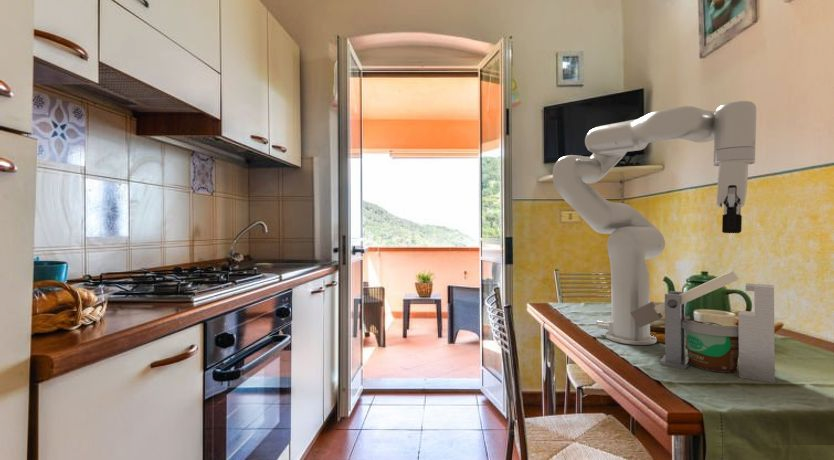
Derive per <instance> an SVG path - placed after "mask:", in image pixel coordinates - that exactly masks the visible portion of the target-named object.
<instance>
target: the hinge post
mask: <svg viewBox="0 0 834 460" xmlns="http://www.w3.org/2000/svg"><path fill="white" fill-rule="evenodd" d="M684 292H685V291H676V290H675V291H674V290H669V292H668V293H665V294H664V302H665V311H664V334H665V335H664V353H665V354H664V355H663V356H662V357H661V359H660V360H659V365H660V366H667V367H672V368H675V369H676V368H677V369H682V370H686V369H687V368H688V367H689V365H690V363H689V359H688V355H686V353H687V352H686V334H685V329H684V328H682V327H681V325H682V321H683V320H684V318H685V316H686V303H684V304H682V305H681V295H679V294H681V293H684Z"/></svg>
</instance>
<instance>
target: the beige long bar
mask: <svg viewBox="0 0 834 460" xmlns="http://www.w3.org/2000/svg"><path fill="white" fill-rule="evenodd" d="M738 280H739V277H738V275H737V274H736V273H735V272H734V270H730V271H729V272H726V273H724V274H722V275H720V276H717V277H715V278H712V279H711V280H708V281H706V282H704V283H702V284H699V285H697V286H694V287H692V288H690V289H688V290H686V291H683V292H684V293H681V294H679V295H681V305H682V304H684V303H685V304H686V303H688V302H691V301H694V300H695V299H696V300H697V299H698V298H700V297H702V296H705V295H707V294H709V293H711V292H714V291H716V290H719V289H720V288H723V287H725V286H727V285H729V284H730V285H731V284H732V283H734V282H737V281H738ZM663 312H665V301H664V302H662V303H660V304H657V305H656V304H655V303H654V301H650V303H648V304H646V305H644V306H642V307H640V308H638V309H635V310H633V311H632V312H630V313H631V315H632V316H633V318H634V319H635V321H636V323H637V324H638V326H639V327H643V326H645V325H647V324H650V325H651V323H654V322H657V321H659V320H662V318H663V315H662V314H661V313H663Z"/></svg>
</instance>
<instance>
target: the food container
mask: <svg viewBox="0 0 834 460" xmlns="http://www.w3.org/2000/svg"><path fill="white" fill-rule="evenodd" d="M681 327H682V328H684V329H685V343H686V348H687V350H686V351H687V356H688V359H689V365H691V366H694V367H696V368H699V369H701V370H705V371H712V372H719V373H737V372H738V367H739V326H738V325H735V326H734V325H726V326H725V325H721V324H718V323H715V322H708V321H697V320H694V319H693V320H692V319H691V316H690V315H685V318H684V320H683V321H682V325H681Z"/></svg>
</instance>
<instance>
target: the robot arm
mask: <svg viewBox="0 0 834 460" xmlns="http://www.w3.org/2000/svg"><path fill="white" fill-rule="evenodd" d="M756 132H757V106H756V104H755V103H754V102H752V101H748V100H740V101H739V100H738V101H730V102H726V103H724V104H722V105H719V106H718V107H717V108H716V109H715V110H707V109H703V108H701V107H696V106H692V105H691V106H688V105H687V106H686V105H685V106H683V105H682V106H676V107H672V108H666V109H662V110H661V109H660V110H657V111H652V112H650V113H647V114H644V115H643V116H641V117H639V118H637V119H636V118H635V119H630V120H625V121H620V122H615V123H610V124H604V125H599V126H596V127H594V128H592V129H590V130H589V131H588V132H587V133H586V135H585V138H584V145H585V147H586V149H587V151H589V152H590V153H592V154H591V155H590V156H583V155H576V154H575V155H574V154H570V155H565V156H562V157H560V158H558V160H556V162H555V164H554V165H553V168H552V182H553V187H554V188H555V190H556V192H557V193H558V195H559V196H560V197H561V198H562V199H563V200H564V201H565V202H566V203H567V204H568V205H569V206H570V207H571V208H572V209H573V210H574V211H575V212H576V213H577V215H579V216H580V217H581V218H582V220H584V222H585V223H586V224H587V225H588V226H589V227H590V228H591V229H592V230H593V231H594V232H596V233H598V234H602V235H609V236H608V238H607V243H606V244H607V247H606V248H607V254H608V258H609V265H610V286H611V287H610V288H611V289H610V292H611V294H610V296H611V297H610V299H611V301H610V302H611V303H610V304H611V308H610V309H611V320H609V321H604V320H598V319H597V320H596V323H595V325H596V327H597V328H598V329H604V330H605V329H606V330H607V331H606V332H605V338H606V339H608V340H609V341H613V342H615V343H619V344H626V345H635V346H647V345H649V346H650V345H654V344H656V343H657V342H658V341H657V337H656V336H655V335H653V336H651V335H652V334H651V323H650V324H647V325H645V326H643V327H639V326H638V324H637V323H636V321H635V319H634V318H633V316H632V315H631V313H630V312H632V311H633V310H635V309H638V308H640V307H642V306H644V305H646V304H648V303H651V301H650V299H651V298H650V296H651V295H650V293H651V292H650V291H651V290H650V288H651V287H650V273H649V267H648V264H647V261H646V260H651V259H655V258H658V257H659V256H661V254H662V253H663V252H664V251H665V248H666V247H665V246H666V240H665V237H664V235H663V234H662V232H661V231H660V229H658V228H657V227H656V226H655V225H654V224H652V222H651V221H649V220H648V219H647V218H646V217H645V216H644V215H643V214H641V213H640V212H639V211H638V210H637V209H635V208H634V207H633V206H631V205H629V204H627V203H623V202H613V201H609V200H608V199H606V198H605V197H603V196H602V195H601V194H600V193H599V192H598V191H597V190H596V189H594V187H592V186H590V185H589V184H595V183H597V182H599V181H601V180H603V178H604V177H605V176H607V174H608V173H609V172H611V170H612V169H613V168H614V167H615V166H616V165H618V163H619V162H620V161H621V160H622V159H623V158H624V157H625V156H626V154H627V153H628V152H635V151H636V152H637V151H642V150H644V149H645V148H646V147H647V146H648V145H649V143H650V144H651V143H653V142H660V141H661V142H662V141H666V140H667V141H668V140H678V139H680V140H686V141H688V142H689V141H690V142H694V143H701V144H702V143H707V142H712V141H713V166H714V167H718V172H717V189H716V190H717V193H716V194H717V195H716V196H717V197H716V207H718V208H723V214H722V218H721V219H722V221H721V222H722V224H721V225H722V226H721V227H722V228H721V232H722V233H723V234H740V233H741V232H742V227H743V226H742V220H743V217H742V214H741V209H742V208H743V207H744V206H745V203H746V199H747V198H746V197H747V191H748V177H749V165H752V164H755V163H756V141H757V140H756V138H757V137H756V136H757V133H756ZM650 334H651V335H650ZM654 336H655V337H654Z"/></svg>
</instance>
